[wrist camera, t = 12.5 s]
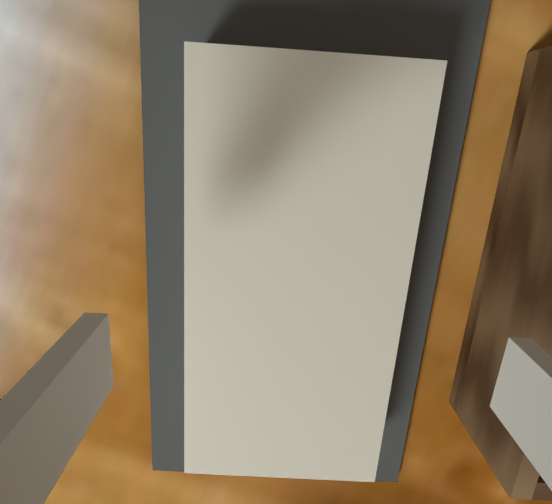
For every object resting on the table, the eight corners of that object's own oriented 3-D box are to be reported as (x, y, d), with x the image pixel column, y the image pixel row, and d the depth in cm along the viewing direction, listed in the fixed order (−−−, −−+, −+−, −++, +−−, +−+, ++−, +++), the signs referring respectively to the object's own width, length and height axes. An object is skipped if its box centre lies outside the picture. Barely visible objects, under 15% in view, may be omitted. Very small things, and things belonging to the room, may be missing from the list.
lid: (198, 54, 19) (183, 41, 16) (420, 70, 20) (447, 60, 17) (194, 431, 26) (184, 472, 23) (362, 440, 26) (374, 482, 23)
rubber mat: (141, -26, 19) (138, -29, 18) (485, 1, 19) (490, -2, 19) (154, 464, 27) (152, 470, 27) (395, 475, 28) (397, 482, 27)
